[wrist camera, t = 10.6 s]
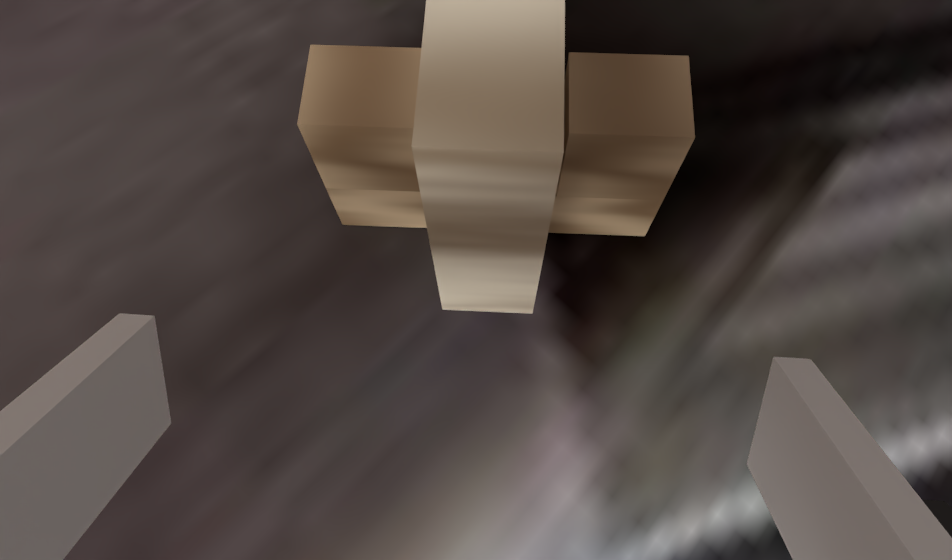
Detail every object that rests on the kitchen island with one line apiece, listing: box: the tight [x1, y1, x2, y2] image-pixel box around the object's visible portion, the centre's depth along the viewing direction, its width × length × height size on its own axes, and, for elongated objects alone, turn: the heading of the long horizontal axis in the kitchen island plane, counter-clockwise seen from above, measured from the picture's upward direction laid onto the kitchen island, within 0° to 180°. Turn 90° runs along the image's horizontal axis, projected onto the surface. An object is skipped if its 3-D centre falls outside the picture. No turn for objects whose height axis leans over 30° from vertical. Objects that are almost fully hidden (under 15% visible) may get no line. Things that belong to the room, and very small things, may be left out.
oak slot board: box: [297, 45, 695, 236], centre depth 24 cm, size 12×3×7 cm, turn 87°
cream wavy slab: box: [412, 0, 565, 314], centre depth 20 cm, size 12×3×10 cm, turn 177°
